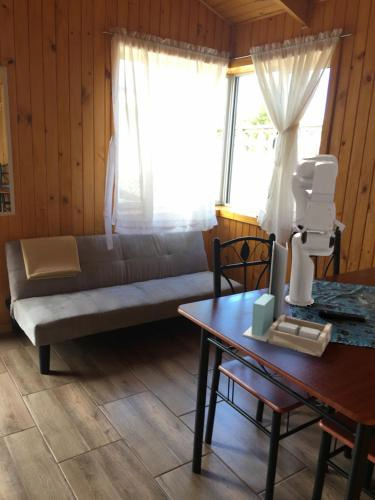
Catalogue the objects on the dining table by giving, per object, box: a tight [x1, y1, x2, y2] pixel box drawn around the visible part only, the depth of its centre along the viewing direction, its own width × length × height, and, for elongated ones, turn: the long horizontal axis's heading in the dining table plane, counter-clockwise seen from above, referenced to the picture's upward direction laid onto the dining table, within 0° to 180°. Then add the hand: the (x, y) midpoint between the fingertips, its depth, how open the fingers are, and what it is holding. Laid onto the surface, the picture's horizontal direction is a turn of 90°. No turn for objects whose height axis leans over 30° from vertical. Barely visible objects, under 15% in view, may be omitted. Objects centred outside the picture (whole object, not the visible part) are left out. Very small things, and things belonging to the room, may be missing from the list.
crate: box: [267, 312, 333, 358], centre depth 148 cm, size 16×18×6 cm
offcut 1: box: [278, 322, 298, 336], centre depth 147 cm, size 4×6×6 cm, turn 60°
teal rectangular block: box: [251, 293, 275, 336], centre depth 155 cm, size 4×12×12 cm, turn 151°
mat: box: [242, 322, 274, 343], centre depth 156 cm, size 16×9×1 cm, turn 150°
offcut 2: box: [299, 326, 320, 340], centre depth 143 cm, size 4×6×6 cm, turn 60°
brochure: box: [268, 240, 289, 320], centre depth 166 cm, size 14×6×30 cm, turn 168°
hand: (317, 245), depth 151 cm, fingers open, 9 cm apart
